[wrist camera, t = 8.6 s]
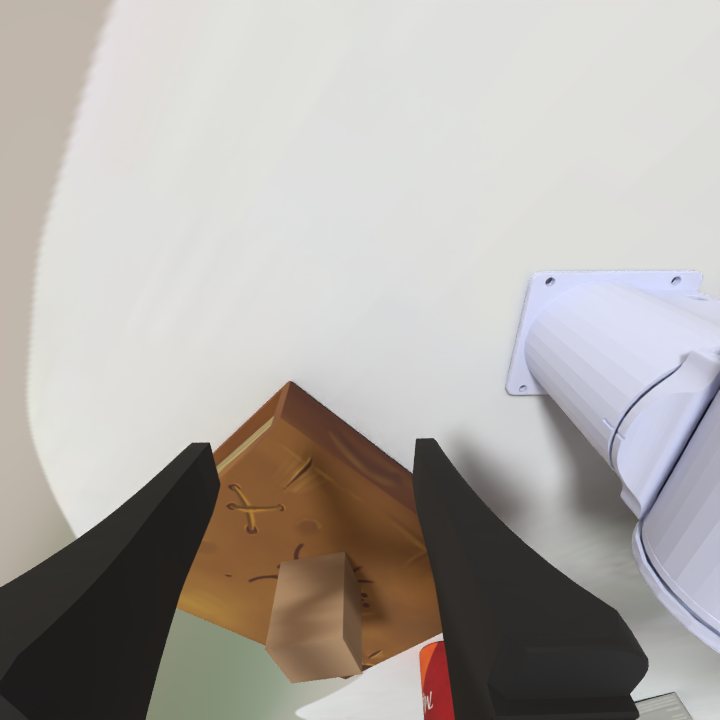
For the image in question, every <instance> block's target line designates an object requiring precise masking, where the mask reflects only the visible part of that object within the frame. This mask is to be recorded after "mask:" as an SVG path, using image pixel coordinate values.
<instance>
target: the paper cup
mask: <svg viewBox="0 0 720 720" xmlns="http://www.w3.org/2000/svg"><path fill="white" fill-rule="evenodd" d="M420 672H421V685H422V698H423V710H424V720H455V717H454V710H453V702H452V694H451V687H450V680H449V673H448V666H447V658H446V652H445V645H444V641H439V642H434V643H431V644H429V645H427V646H425V647H424V648H423V649H422V650H421V651H420Z"/></svg>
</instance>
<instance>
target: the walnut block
mask: <svg viewBox="0 0 720 720" xmlns="http://www.w3.org/2000/svg"><path fill="white" fill-rule="evenodd" d="M265 650H266V651H267V652H268V654H269V655H270V656H271V658H272V659H273V660H274V661H275V663H276V664H277V665H278V666H279V667H280V669H281V670H282V672H283V673H284V674H285V675H286V677H287V678H288V679H289V681H290V682H291V683H298V682H305V681H313V680H320V679H327V678H336V677H343V676H351V675H358V674H362V624H361V587H360V585H359V583H358V580H357V578H356V576H355V574H354V571H353V569H352V567H351V564H350V562H349V560H348V558H347V555H346V553H345V551H343V552H337V553H331V554H325V555H319V556H313V557H308V558H302V559H296V560H290V561H284V562H281V564H280V570H279V575H278V581H277V586H276V592H275V597H274V603H273V608H272V614H271V619H270V624H269V630H268V635H267V641H266V647H265Z"/></svg>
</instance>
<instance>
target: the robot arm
mask: <svg viewBox="0 0 720 720" xmlns="http://www.w3.org/2000/svg"><path fill="white" fill-rule="evenodd" d="M550 277H552V280H551V282H550V283H549V284H545V282H546V280H547V279H548V278H550ZM675 277H676V278H675ZM673 278H675V280H674V282H672V283H671V281H672V279H673ZM702 280H703V274H702V273H701V272H698V271H694V270H665V271H540V272H536V273H535V274H533V275H532V276H531V278H530V280H529V285H528V289H527V294H526V298H525V302H524V307H523V311H522V316H521V320H520V324H519V329H518V333H517V338H516V342H515V347H514V351H513V355H512V360H511V364H510V369H509V373H508V377H507V382H506V390H507V392H508V393H509V394H511V395H545V394H549V395H550V396H551V397H552V399H553V400H554V401H555V402H556V403H557V404H558V406H559V407H560V408H561V409H562V410H563V412H564V413H565V414H566V415H567V416H568V417H569V419H570V420H571V421H572V422H573V423H574V425H575V426H576V427H577V428H578V429H579V430H580V432H581V433H582V434H583V435H584V436H585V438H586V439H587V440H588V441H589V442H590V443H591V445H592V446H593V447H594V448H595V449H596V450H597V452H598V453H599V454H600V455H601V456H602V458H603V459H604V460H605V461H606V462H607V463H608V465H609V466H610V467H611V468H612V469H613V471H614V472H615V473H616V474H617V475H618V476H619V478H620V479H621V481H622V492H621V495H620V497H621V498H622V499H623V501H624V502H625V503H626V504H627V506H628V507H629V508H630V509H631V511H632V512H633V513H634V514H635V516H636V517H637V518H638V519H639V521H638V523H637V524H636V526H635V529H634V531H633V534H632V550H633V556H634V559H635V561H636V564H637V567H638V569H639V571H640V573H641V575H642V576H643V578H644V580H645V582H646V583H647V585H648V586H649V588H650V589H651V590H652V592H653V593H654V595H655V596H656V597H657V599H658V600H659V601H660V602H661V603H662V604H663V605H664V607H665V608H666V609H667V610H668V611H669V612H670V613H671V614H672V615H673V616H674V617H675V618H676V619H677V620H678V621H679V622H680V623H681V624H682V625H683V626H684V627H685V628H686V629H687V630H689V631H690V632H691V633H692V634H693V635H695V636H696V637H697V638H698V639H700V640H701V641H702V642H703V643H704V644H706V645H707V646H709V647H710V648H711V649H713V650H714V651H716V652H717V653H719V654H720V299H717V298H715V297H712V296H709V295H706V294H704V293H701V292H698V289H699V287H700V284H701V282H702ZM523 385H525V386H524V387H523V388H521V389H519V388H520V387H521V386H523ZM412 483H413V490H414V498H415V504H416V510H417V514H418V518H419V522H420V526H421V530H422V534H423V538H424V542H425V546H426V550H427V554H428V558H429V562H430V565H431V569H432V574H433V578H434V583H435V588H436V594H437V600H438V606H439V612H440V619H441V625H442V632H443V638H444V645H445V652H446V658H447V666H448V673H449V680H450V687H451V694H452V702H453V710H454V717H455V720H636V719H638V718H639V717H640V715H639V711H638V709H637V707H636V705H635V703H634V701H633V699H632V697H631V696H630V693H631V692H632V691H633V690H634V688H635V687H636V686H637V685H638V684H639V682H640V681H641V680H642V679H643V678H644V676H645V674H646V672H647V670H648V666H649V665H648V658H647V656H646V655H645V653H644V651H643V650H642V648H641V646H640V645H639V643H638V641H637V640H636V638H635V636H634V635H633V633H632V632H631V630H630V628H629V627H628V626H627V624H626V623H625V622H624V620H623V619H622V617H621V616H620V614H619V613H618V611H617V610H615V609H614V608H612V607H611V606H609V605H608V604H606V603H605V602H603V601H602V600H600V599H599V598H597V597H596V596H594V595H593V594H591V593H590V592H588V591H587V590H585V589H584V588H582V587H581V586H579V585H578V584H576V583H575V582H574V581H572V580H571V579H570V578H568V577H567V576H566V575H564V574H563V573H561V572H560V571H559V570H557V569H556V568H555V567H553V566H552V565H551V564H550V563H548V562H547V561H546V560H545V559H544V558H542V557H541V556H540V555H539V554H538V553H536V552H535V551H534V550H533V549H532V548H530V547H529V546H528V545H527V544H525V543H524V542H523V541H522V540H521V539H520V538H519V537H518V536H517V535H516V534H514V533H513V532H512V531H511V530H510V529H509V528H508V527H507V526H506V525H505V524H504V523H503V522H502V521H501V520H500V519H499V518H498V517H497V516H496V515H495V514H494V513H493V512H492V511H491V510H490V509H489V508H488V507H487V506H486V505H485V503H484V502H483V501H482V500H481V499H480V498H479V497H478V496H477V494H476V493H475V492H474V491H473V490H472V489H471V487H470V486H469V485H468V484H467V482H466V481H465V480H464V479H463V477H462V476H461V475H460V474H459V472H458V471H457V470H456V468H455V467H454V466H453V464H452V463H451V462H450V460H449V459H448V458H447V456H446V455H445V453H444V452H443V450H442V449H441V447H440V446H439V444H438V443H437V441H436V440H435V439H434V438H422V439H416V445H415V456H414V467H413V478H412ZM220 486H221V483H220V480H219V476H218V472H217V468H216V465H215V461H214V457H213V453H212V449H211V446H210V443H191V444H190V445H189V446H188V447H187V448H186V449H185V450H183V451H182V452H181V453H180V454H179V455H178V456H177V457H176V458H175V459H174V460H173V461H172V462H171V463H169V464H168V465H167V466H166V467H165V468H164V469H163V470H162V471H161V472H160V473H159V474H157V475H156V476H155V477H154V478H153V479H152V480H151V481H150V482H149V483H147V484H146V485H145V486H144V487H143V488H142V489H141V490H139V491H138V492H137V493H136V494H135V495H133V496H132V497H131V498H130V499H129V500H127V501H126V502H125V503H124V504H123V505H121V506H120V507H119V508H118V509H117V510H115V511H114V512H113V513H112V514H110V515H109V516H108V517H107V518H105V519H104V520H103V521H101V522H100V523H99V524H97V525H96V526H95V527H93V528H92V529H91V530H89V531H88V532H86V533H85V534H84V535H82V536H81V537H80V538H78V539H77V540H75V541H74V542H72V543H71V544H69V545H68V546H66V547H65V548H63V549H62V550H60V551H59V552H57V553H56V554H54V555H52V556H51V557H49V558H48V559H46V560H45V561H43V562H42V563H40V564H39V565H37V566H36V567H34V568H32V569H31V570H29V571H27V572H26V573H24V574H23V575H21V576H19V577H18V578H16V579H14V580H13V581H11V582H9V583H7V584H6V585H4V586H2V587H0V720H145V719H146V715H147V711H148V707H149V703H150V699H151V695H152V691H153V688H154V684H155V680H156V676H157V672H158V668H159V665H160V661H161V657H162V654H163V651H164V647H165V643H166V640H167V636H168V633H169V629H170V626H171V623H172V619H173V617H174V613H175V610H176V607H177V604H178V600H179V597H180V594H181V591H182V589H183V586H184V583H185V580H186V578H187V575H188V573H189V571H190V568H191V566H192V563H193V561H194V559H195V556H196V554H197V551H198V549H199V547H200V544H201V542H202V539H203V537H204V534H205V532H206V530H207V527H208V525H209V522H210V520H211V517H212V515H213V512H214V508H215V505H216V501H217V498H218V494H219V490H220Z"/></svg>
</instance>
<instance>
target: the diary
mask: <svg viewBox="0 0 720 720" xmlns="http://www.w3.org/2000/svg"><path fill="white" fill-rule="evenodd" d="M213 457H214V461H215V465H216V468H217V472H218V476H219V480H220V483H221V486H220V490H219V494H218V498H217V501H216V505H215V508H214V512H213V515H212V517H211V520H210V522H209V525H208V527H207V530H206V532H205V534H204V537H203V539H202V542H201V544H200V547H199V549H198V551H197V554H196V556H195V559H194V561H193V563H192V566H191V568H190V571H189V573H188V575H187V578H186V580H185V583H184V586H183V589H182V591H181V594H180V597H179V600H178V604H177V607H176V608H178V609H180V610H183V611H185V612H187V613H190V614H192V615H194V616H197V617H199V618H202V619H204V620H206V621H209V622H211V623H213V624H216V625H218V626H220V627H223V628H225V629H228V630H230V631H232V632H235V633H237V634H239V635H242V636H244V637H247V638H249V639H251V640H254V641H256V642H258V643H261V644H263V645H265V646H266V641H267V635H268V630H269V624H270V619H271V614H272V608H273V603H274V597H275V592H276V586H277V581H278V575H279V570H280V564H281V562H284V561H290V560H296V559H302V558H308V557H313V556H319V555H325V554H331V553H337V552H343V551H345V553H346V555H347V558H348V560H349V562H350V564H351V567H352V569H353V571H354V574H355V576H356V578H357V580H358V583H359V585H360V587H361V624H362V671H364V670H366V669H368V668H370V667H372V666H374V665H376V664H378V663H380V662H383V661H385V660H387V659H389V658H391V657H393V656H395V655H397V654H399V653H401V652H403V651H405V650H407V649H409V648H411V647H414V646H416V645H418V644H420V643H422V642H424V641H426V640H428V639H430V638H432V637H434V636H436V635H438V634H440V633H443V632H442V625H441V619H440V612H439V606H438V600H437V594H436V588H435V583H434V578H433V574H432V569H431V565H430V562H429V558H428V554H427V550H426V546H425V542H424V538H423V534H422V530H421V526H420V522H419V518H418V514H417V510H416V504H415V498H414V490H413V483H412V478H413V475H412V474H411V473H410V472H408V471H407V470H406V469H404V468H403V467H402V466H401V465H399V464H398V463H397V462H395V461H394V460H393V459H391V458H390V457H389V456H388V455H386V454H385V453H384V452H382V451H381V450H380V449H378V448H377V447H376V446H374V445H373V444H372V443H371V442H369V441H368V440H367V439H365V438H364V437H363V436H361V435H360V434H359V433H358V432H356V431H355V430H354V429H352V428H351V427H350V426H348V425H347V424H346V423H345V422H343V421H342V420H341V419H339V418H338V417H337V416H335V415H334V414H333V413H331V412H330V411H329V410H328V409H326V408H325V407H324V406H322V405H321V404H320V403H318V402H317V401H316V400H315V399H313V398H312V397H311V396H309V395H308V394H307V393H305V392H304V391H303V390H302V389H300V388H299V387H298V386H296V385H295V384H294V383H292V382H291V381H289V382H288V383H286V384H285V385H284V386H283V387H282V388H281V389H280V390H279V391H278V392H277V393H276V394H275V395H274V396H273V397H272V398H271V399H270V400H269V401H267V402H266V403H265V404H264V405H263V406H262V407H261V408H260V409H259V410H258V411H257V412H256V413H255V414H254V415H253V416H252V417H251V418H249V419H248V420H247V421H246V422H245V423H244V424H243V425H242V426H241V427H240V428H239V429H238V430H237V431H236V432H235V433H234V434H233V435H232V436H230V437H229V438H228V439H227V440H226V441H225V442H224V443H223V444H222V445H221V446H220V447H219V448H218V449H217V450H216V451H215V452H214V453H213ZM351 676H354V675H351ZM351 676H343V677H341V678H343V679H347V678H349V677H351Z"/></svg>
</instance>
